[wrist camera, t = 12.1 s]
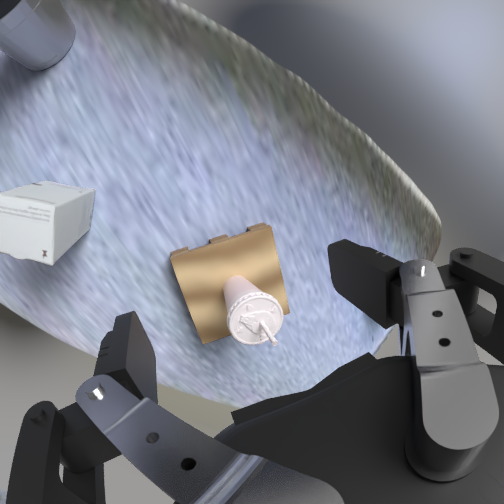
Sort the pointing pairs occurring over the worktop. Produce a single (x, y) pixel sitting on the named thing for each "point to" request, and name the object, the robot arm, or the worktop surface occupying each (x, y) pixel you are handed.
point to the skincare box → (44, 220)
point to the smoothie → (251, 312)
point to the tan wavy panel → (227, 276)
